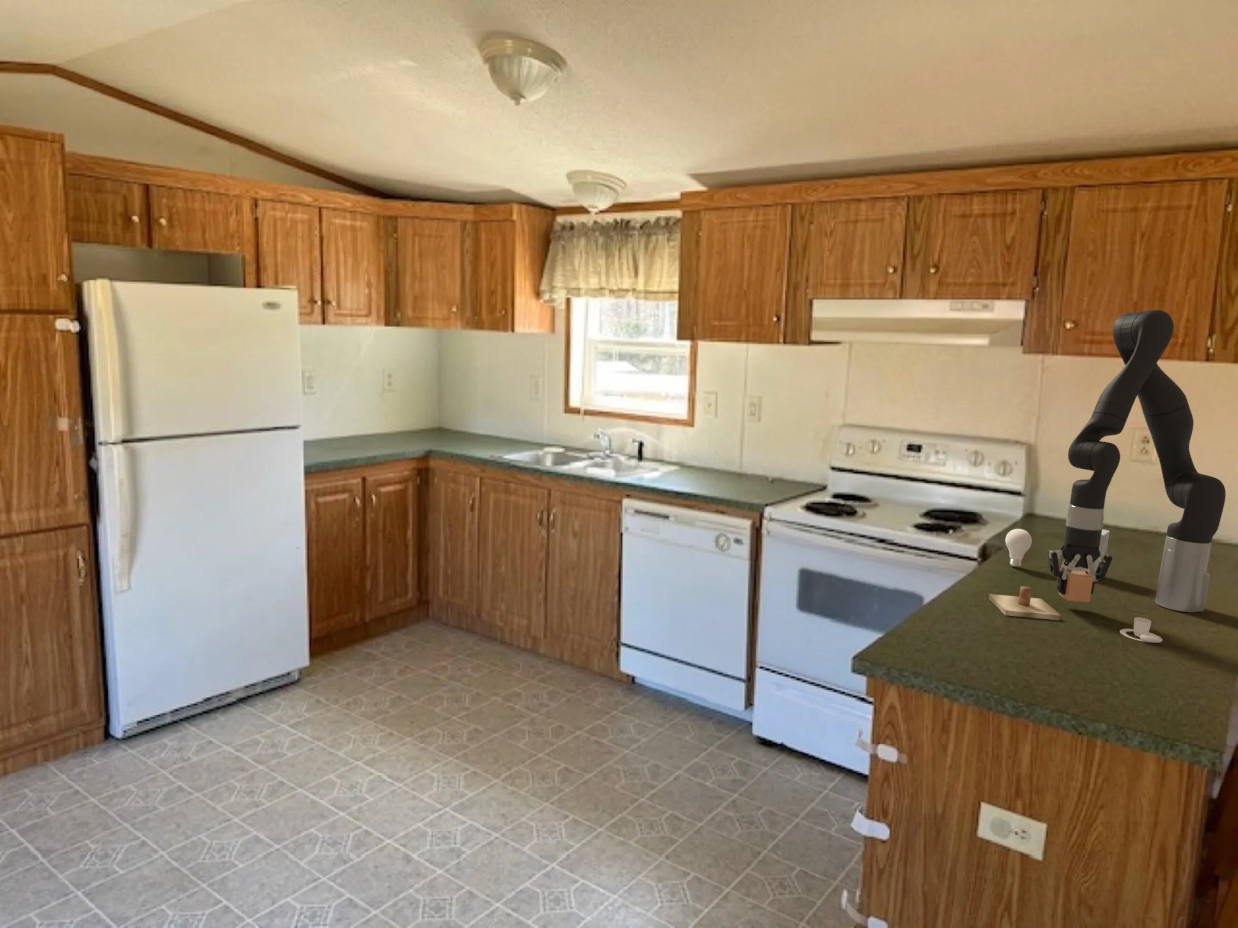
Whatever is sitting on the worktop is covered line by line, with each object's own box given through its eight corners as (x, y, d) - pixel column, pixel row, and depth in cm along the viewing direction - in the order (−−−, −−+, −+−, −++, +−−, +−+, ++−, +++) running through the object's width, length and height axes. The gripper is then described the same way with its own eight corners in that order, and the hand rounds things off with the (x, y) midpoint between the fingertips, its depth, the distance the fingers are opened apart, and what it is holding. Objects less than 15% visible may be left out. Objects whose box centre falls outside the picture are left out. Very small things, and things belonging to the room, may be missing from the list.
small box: (1077, 571, 234) (1084, 525, 232) (1103, 576, 230) (1110, 530, 228) (1070, 576, 228) (1078, 530, 225) (1097, 582, 224) (1104, 534, 221)
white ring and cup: (1162, 648, 177) (1165, 630, 176) (1118, 639, 181) (1121, 621, 180) (1161, 636, 184) (1164, 619, 184) (1120, 628, 188) (1122, 611, 188)
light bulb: (1030, 571, 230) (1036, 533, 228) (1005, 569, 231) (1010, 530, 229) (1024, 565, 236) (1029, 527, 234) (999, 562, 237) (1004, 525, 236)
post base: (1040, 603, 202) (1043, 582, 201) (1060, 620, 190) (1063, 598, 189) (988, 598, 203) (991, 578, 202) (1005, 615, 191) (1008, 593, 190)
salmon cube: (1080, 595, 201) (1083, 571, 200) (1089, 602, 196) (1093, 577, 195) (1058, 593, 201) (1061, 569, 200) (1067, 600, 196) (1070, 575, 195)
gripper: (1108, 523, 198) (1098, 592, 201) (1045, 519, 200) (1036, 587, 203) (1124, 530, 191) (1113, 602, 194) (1058, 526, 193) (1049, 597, 195)
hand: (1074, 594), depth 198 cm, fingers closed on salmon cube, 5 cm apart
